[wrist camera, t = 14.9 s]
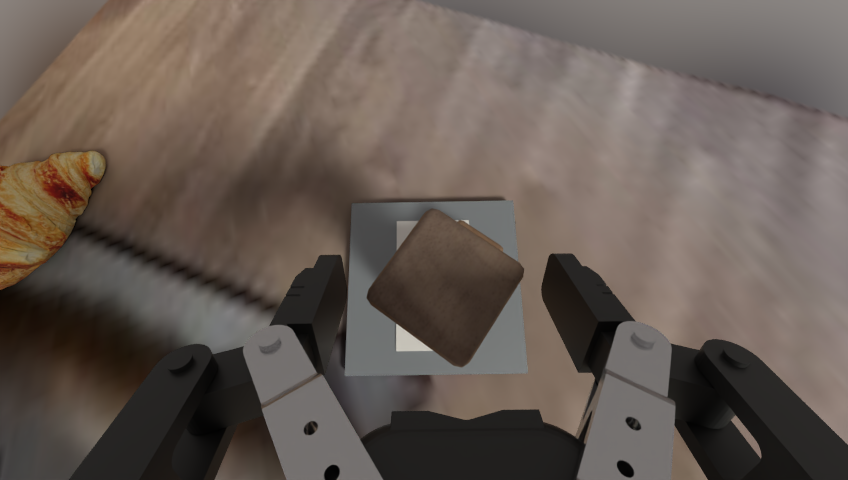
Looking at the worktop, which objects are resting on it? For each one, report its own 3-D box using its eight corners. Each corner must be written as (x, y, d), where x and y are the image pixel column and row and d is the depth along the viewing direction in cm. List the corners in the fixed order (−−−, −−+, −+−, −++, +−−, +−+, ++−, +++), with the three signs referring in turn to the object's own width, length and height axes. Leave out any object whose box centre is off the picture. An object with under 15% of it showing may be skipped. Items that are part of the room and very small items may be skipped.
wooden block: (455, 231, 31) (492, 116, 13) (494, 257, 30) (590, 174, 13) (400, 309, 29) (359, 297, 11) (440, 339, 28) (464, 374, 11)
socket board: (348, 373, 29) (344, 376, 28) (354, 207, 33) (351, 202, 31) (523, 370, 29) (528, 373, 28) (509, 204, 33) (513, 199, 31)
